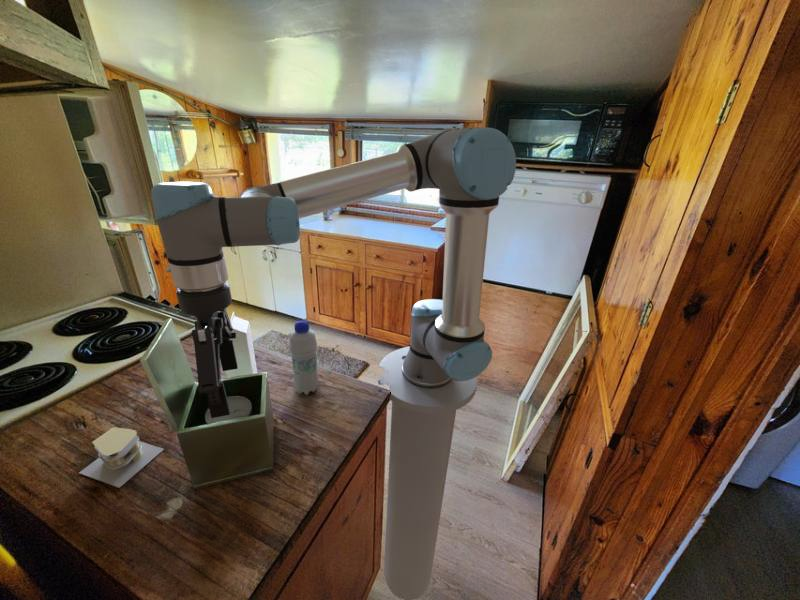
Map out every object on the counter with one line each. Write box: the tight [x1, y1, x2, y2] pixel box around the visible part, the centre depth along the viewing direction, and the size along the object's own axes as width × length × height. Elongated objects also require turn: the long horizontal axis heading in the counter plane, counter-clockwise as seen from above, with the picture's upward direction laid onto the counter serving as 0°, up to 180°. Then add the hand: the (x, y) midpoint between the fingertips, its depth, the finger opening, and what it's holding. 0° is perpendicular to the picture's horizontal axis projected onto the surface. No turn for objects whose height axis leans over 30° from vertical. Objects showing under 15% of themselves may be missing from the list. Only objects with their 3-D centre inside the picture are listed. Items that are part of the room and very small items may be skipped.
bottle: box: [288, 320, 320, 396], centre depth 82 cm, size 7×7×20 cm
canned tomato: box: [205, 396, 253, 424], centre depth 64 cm, size 8×8×11 cm
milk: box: [224, 310, 258, 378], centre depth 79 cm, size 6×6×22 cm
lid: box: [139, 317, 197, 433], centre depth 56 cm, size 14×14×1 cm
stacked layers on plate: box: [78, 426, 165, 488], centre depth 63 cm, size 10×9×6 cm
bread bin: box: [176, 371, 275, 490], centre depth 64 cm, size 14×14×14 cm
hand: (226, 389), depth 61 cm, fingers open, 13 cm apart
